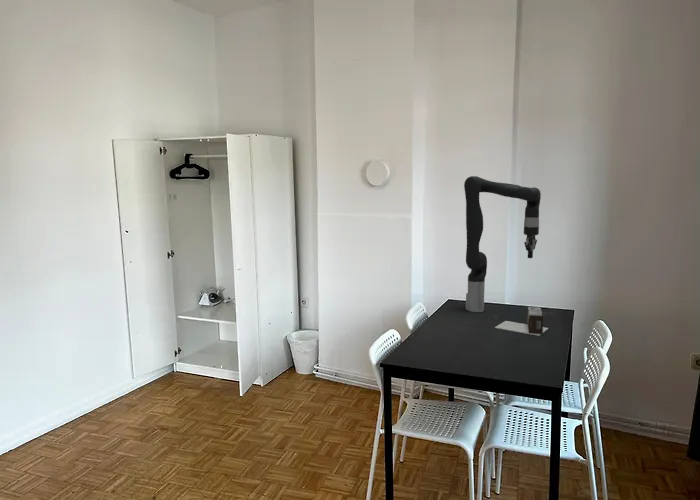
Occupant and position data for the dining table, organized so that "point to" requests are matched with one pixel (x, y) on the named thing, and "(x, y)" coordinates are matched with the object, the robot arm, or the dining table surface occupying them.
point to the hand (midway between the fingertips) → (530, 258)
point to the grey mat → (517, 327)
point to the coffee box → (535, 320)
